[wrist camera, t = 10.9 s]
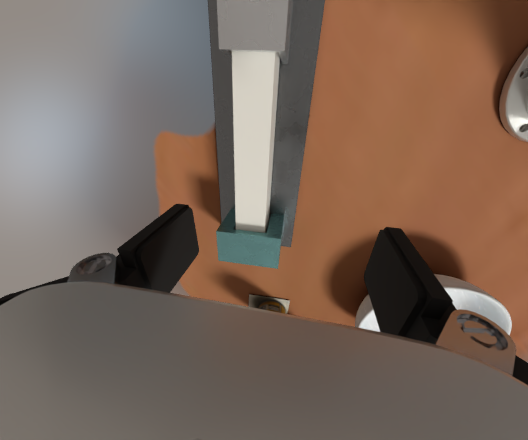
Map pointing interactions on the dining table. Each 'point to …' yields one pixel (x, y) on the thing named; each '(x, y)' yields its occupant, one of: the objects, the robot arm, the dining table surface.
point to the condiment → (269, 303)
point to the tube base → (287, 112)
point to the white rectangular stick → (254, 135)
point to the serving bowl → (462, 297)
